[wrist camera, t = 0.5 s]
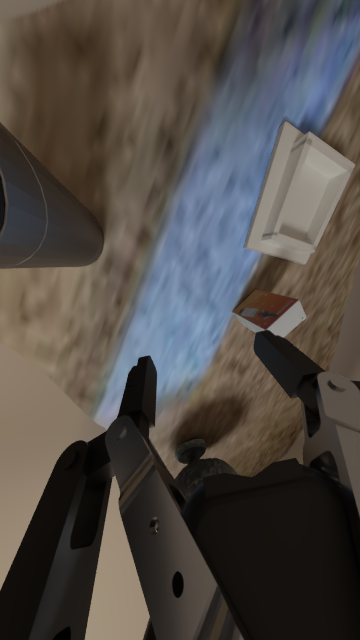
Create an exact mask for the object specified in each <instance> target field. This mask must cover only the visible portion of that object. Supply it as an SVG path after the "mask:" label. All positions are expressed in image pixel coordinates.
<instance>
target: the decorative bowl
mask: <svg viewBox="0 0 360 640" xmlns="http://www.w3.org/2000/svg"><path fill="white" fill-rule="evenodd" d="M205 450H206V444H205V441H204V440H203V439H193V440H190V441H187V442H185V443H183V444H181V445H180V446H179V447H178V448H177V449H176V451H175V458H176V460H177V461H179V462H180V463H183V464H188V465H187V466H186V467H184V468H183V469H182V470H181V472H180V473H179V474H178V476H177V477H176V479H175V481H176V483H177V484H178V486H179V488H180V489H181V491H182V493H183V495H184V496H185V498H186V500H188V498H189V497H190V495H191V494H192V492H193V491H194V490H195V489H196V488H197V487H198V486H199V485H200V484H201V483H203V478H202V477H207V476H212V475H217V474H221V473H230V474H235V475H238V474H237V472H236V471H235V470H234V469H233V468H232V467H231V466H230V465H229V464H227V463H226V462H225V461H223V460H220V459H218V458H213V459H212V458H207V459H200V457H201V456H202V455H203V454H204V453H205Z"/></svg>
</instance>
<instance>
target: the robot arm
mask: <svg viewBox="0 0 360 640" xmlns="http://www.w3.org/2000/svg"><path fill="white" fill-rule="evenodd" d="M102 250H103V235H102V231H101V228H100V226H99V224H98V222H97V220H96V219H95V217H94V216H93V215H92V214H91V213H90V212H89V210H88V209H87V208H86V207H85V206H84V205H83V204H82V203H81V202H80V201H79V200H78V199H77V198H76V197H75V196H74V195H73V194H72V193H71V192H70V191H69V190H68V189H67V188H66V187H65V186H64V185H63V184H62V183H61V182H60V181H59V180H58V179H57V178H56V177H55V176H54V175H53V174H52V173H51V172H50V171H49V170H48V169H47V168H46V167H45V166H44V165H43V164H42V163H41V162H40V161H39V160H38V159H37V158H35V157H34V156H33V155H32V154H31V153H30V152H29V151H28V150H27V149H26V148H25V147H24V146H23V145H22V144H21V143H20V142H19V141H18V140H17V139H16V138H15V137H14V136H13V135H12V134H11V133H10V132H9V131H8V130H7V129H6V128H5V127H4V126H3V125H2V124H1V123H0V269H6V268H45V267H81V266H87V265H89V264H92V263H93V262H95V261H96V260H97V259H98V258H99V256H100V255H101V252H102ZM254 352H255V354H256V355H257V356H258V358H259V359H260V360H261V362H262V363H263V364H264V365H265V367H266V368H267V369H268V370H269V372H270V373H271V374H272V375H273V377H274V378H275V379H276V380H277V382H278V383H279V384H280V385H281V387H282V388H283V389H284V390H285V392H286V393H287V394H288V396H289V397H290V398H295V397H299V398H300V399H301V411H302V420H303V429H304V445H303V465H302V464H299V462H298V461H297V459H296V458H293V459H288V460H283V461H279V462H274V463H272V464H270V465H269V466H268V467H266V468H265V469H264V470H262V471H261V472H260V473H258V474H257V475H256V476H254V477H246V476H241V475H235V474H230V473H221V474H217V475H212V476H207V477H202V478H203V483H201V484H200V485H199V486H198V487H197V488H196V489H195V490H194V491H193V492H192V494H191V495H190V497H189V498H188V500H186V498H185V496H184V495H183V493H182V491H181V489H180V488H179V486H178V484H177V483H176V481H175V479H174V478H173V476H172V475H171V473H170V472H169V471H168V469H167V467H166V466H165V464H164V462H163V461H162V459H161V457H160V456H159V454H158V452H157V450H156V449H155V447H154V445H153V443H152V442H151V440H150V438H149V428H152V427H155V411H156V387H157V371H156V368H155V365H154V363H153V361H152V359H151V357H150V356H144V357H140V358H139V359H138V364H137V366H133V367H132V369H131V370H130V372H129V374H128V378H127V382H126V386H125V390H124V394H123V398H122V402H121V406H120V410H119V414H118V416H117V419H115V420H114V421H113V422H112V424H111V425H110V426H109V428H108V430H107V431H106V432H104V433H102V434H101V435H99V436H98V437H96V438H94V439H93V440H91V441H89V442H87V443H86V442H85V441H82V440H80V441H76V442H74V443H72V444H71V445H70V446H69V447H68V448H67V449H66V450H65V451H64V452H63V453H62V454H61V456H60V457H59V459H58V460H57V462H56V464H55V467H54V469H53V471H52V473H51V476H50V478H49V481H48V483H47V485H46V487H45V489H44V492H43V494H42V496H41V499H40V501H39V503H38V505H37V508H36V510H35V512H34V515H33V517H32V520H31V521H30V524H29V526H28V528H27V531H26V533H25V535H24V538H23V540H22V542H21V545H20V547H19V549H18V551H17V554H16V556H15V558H14V560H13V563H12V565H11V567H10V570H9V572H8V574H7V577H6V579H5V581H4V583H3V586H2V588H1V590H0V640H84V639H85V633H86V628H87V622H88V616H89V610H90V605H91V599H92V593H93V587H94V581H95V575H96V570H97V564H98V558H99V552H100V547H101V541H102V535H103V529H104V523H105V518H106V512H107V506H108V500H109V495H110V488H111V483H112V477H114V476H116V479H117V482H118V485H119V488H120V497H119V510H120V514H121V518H122V521H123V525H124V528H125V532H126V535H127V539H128V542H129V545H130V549H131V552H132V556H133V559H134V563H135V566H136V570H137V573H138V576H139V580H140V583H141V587H142V591H143V594H144V597H145V601H146V604H147V608H148V611H149V615H150V618H149V621H148V625H147V628H146V631H145V635H144V638H143V640H360V381H350V380H348V379H347V378H345V377H343V376H341V375H338V374H335V373H331V372H326V371H324V370H323V369H322V368H321V367H319V366H318V365H317V364H316V363H315V362H313V361H312V360H311V359H310V358H309V357H307V356H306V355H305V354H304V353H302V352H301V351H299V349H298V348H296V347H295V346H293V344H292V343H290V342H289V341H288V340H287V339H285V338H283V337H281V336H279V335H274V334H273V333H272V332H271V331H270V330H264V331H260V332H256V335H255V341H254ZM156 530H157V532H156Z"/></svg>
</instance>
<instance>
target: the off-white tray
mask: <svg viewBox="0 0 360 640" xmlns="http://www.w3.org/2000/svg"><path fill="white" fill-rule="evenodd" d="M354 167H355V164H353V163H352V162H351V161H349V160H348V159H347V158H345V157H344V156H343V155H341V154H340V153H338V152H337V151H336V150H334V149H333V148H332V147H330V146H329V145H327V144H326V143H325V142H323V141H322V140H321V139H319V138H318V137H317V136H315V135H314V134H312V133H311V132H310V131H309V132H308V133H307V134H303V133H302V132H300V131H299V130H298V129H296V128H295V127H293V126H292V125H291V124H289V123H288V122H286V121H285V122H284V123H283V124H282V125H281V126H280V127H279V131H278V134H277V137H276V141H275V144H274V147H273V151H272V154H271V157H270V161H269V164H268V167H267V171H266V174H265V177H264V181H263V184H262V187H261V191H260V194H259V197H258V201H257V204H256V207H255V211H254V214H253V217H252V221H251V224H250V227H249V231H248V234H247V237H246V241H245V244H244V247H243V248H245V249H249V250H252V251H256V252H259V253H263V254H266V255H270V256H274V257H277V258H281V259H284V260H288V261H292V262H295V263H299V264H306V263H307V261H308V258H309V256H310V254H311V253H314V252H315V250H316V247H317V245H318V243H319V241H320V239H321V237H322V235H323V233H324V230H325V228H326V226H327V224H328V222H329V220H330V218H331V215H332V213H333V211H334V209H335V207H336V205H337V203H338V201H339V198H340V196H341V194H342V192H343V190H344V188H345V186H346V184H347V181H348V179H349V177H350V175H351V173H352V171H353V169H354Z"/></svg>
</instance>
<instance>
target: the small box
mask: <svg viewBox="0 0 360 640" xmlns="http://www.w3.org/2000/svg"><path fill="white" fill-rule="evenodd" d="M232 312H233V314H234V315H235V316H236V317H237V319H238V320H239V321H240V322H241V324H242V325H244V326H246V327H247V328H249V329H251V330H252V331H254V332H255V333H256V332H260V331H264V330H270V331H271V332H272V333H273V334H274V335H279V336H281V337H283V338H284V337H285V336H286V335H287V334H288V333H289V332H290V331H292V330H293V329H294V328H295V327H296V326H297V325H298V324H300V323H301V322H302V321H303V320H305V319H306V315H305V313H304V310H303V308H302V305H301V303H300V301H299V300H298V299H294V298H290V297H286V296H282V295H278V294H274V293H269V292H265V291H261V290H257V289H255V290H254V291H253V292H252V293H251V294H250V295H249V296H248V297H247V298H246V299H245V300H244V301H243V302H242V303H241V304H240V305H239V306H238V307H237V308H236V309H234V310H233V311H232Z"/></svg>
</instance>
